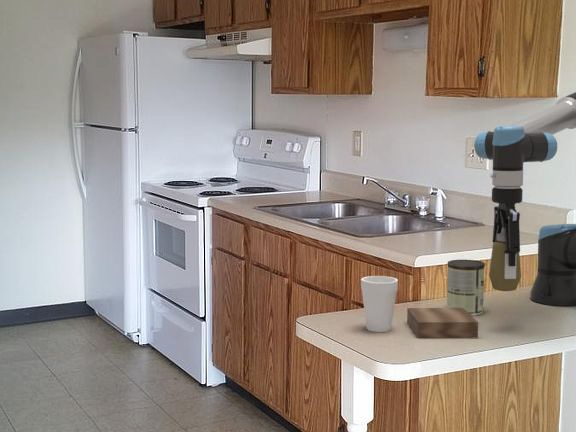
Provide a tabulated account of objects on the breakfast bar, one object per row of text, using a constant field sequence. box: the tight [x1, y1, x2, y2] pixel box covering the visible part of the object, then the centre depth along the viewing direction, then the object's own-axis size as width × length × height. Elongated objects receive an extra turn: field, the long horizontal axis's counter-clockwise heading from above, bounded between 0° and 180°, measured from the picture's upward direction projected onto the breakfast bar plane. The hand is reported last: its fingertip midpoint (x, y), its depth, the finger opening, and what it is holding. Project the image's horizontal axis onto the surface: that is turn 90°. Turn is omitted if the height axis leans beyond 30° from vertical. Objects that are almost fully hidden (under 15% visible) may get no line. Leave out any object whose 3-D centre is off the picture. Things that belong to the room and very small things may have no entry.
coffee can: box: [446, 259, 486, 317], centre depth 225 cm, size 10×10×14 cm
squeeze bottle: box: [488, 227, 522, 292], centre depth 205 cm, size 8×8×18 cm
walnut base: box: [406, 307, 479, 339], centre depth 206 cm, size 15×15×4 cm
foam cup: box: [360, 275, 399, 333], centre depth 206 cm, size 10×9×13 cm
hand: (505, 274), depth 205 cm, fingers closed on squeeze bottle, 8 cm apart
